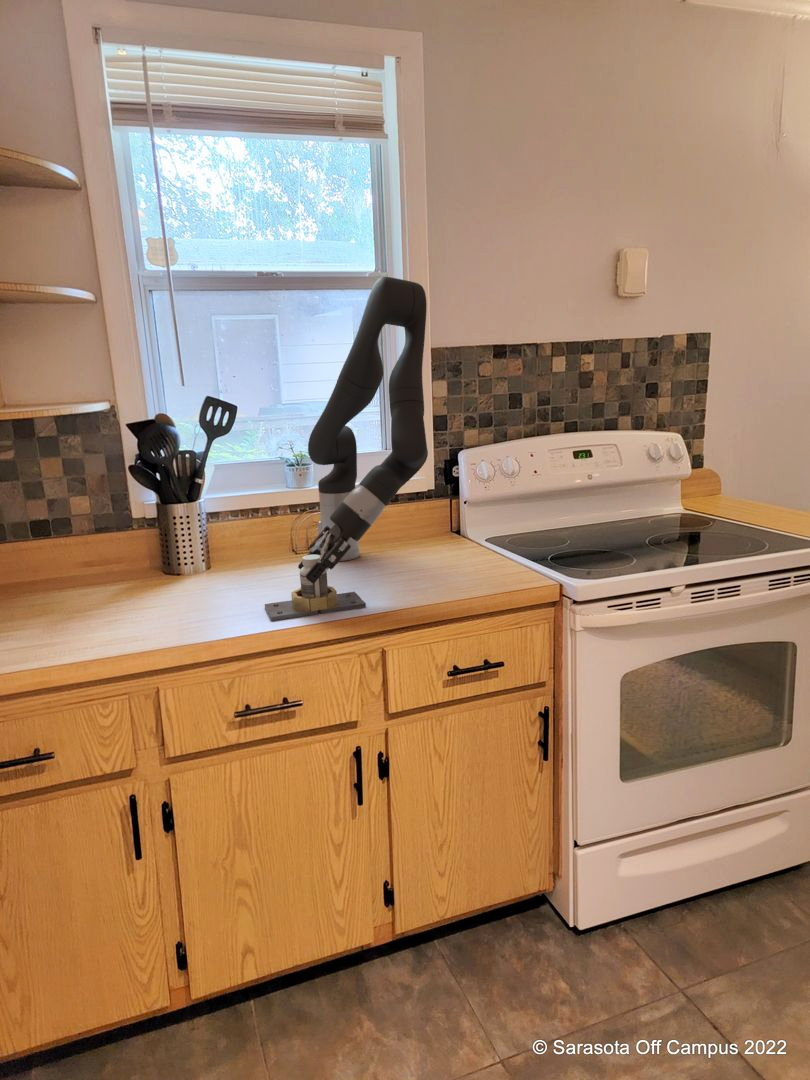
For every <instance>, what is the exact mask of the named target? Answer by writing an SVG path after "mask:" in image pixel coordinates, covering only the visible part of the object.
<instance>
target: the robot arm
mask: <svg viewBox="0 0 810 1080" xmlns="http://www.w3.org/2000/svg"><path fill="white" fill-rule="evenodd" d="M426 296H427V295H426V291H425V289H424V287H423V286H422V285H421V284H420V283H419V282H418V283H417V282H416V281H410V280H408V279H407V280H405V279H401V278H398V277H397V278H396V277H391V276H381V277H379V278H378V279H377V280H376V281H375V283H374V284H373V286H372V288H371V290H370V293H369V296H368V298H367V301H366V305H365V308H364V311H363V314H362V316H361V321H360V324H359V327H358V329H357V332H356V336H355V338H354V340H353V343H352V345H351V348H350V350H349V353H348V355H347V357H346V359H345V361H344V363H343V366H342V368H341V370H340V371H339V372H340V373H339V375H338V377H337V380H336V383H335V386H334V388H333V390H332V392H331V395H330V397H329V399H328V402H327V403H326V405H325V406H324V407H325V408H324V409H323V412H322V413H321V415H320V416H319V418H318V420H317V422H316V423H315V425H314V427H313V429H312V430H311V433H310V435H309V437H308V442H307V443H308V444H307V451H308V456H309V458H310V460H311V462H313V463H315V465H321V466H328V465H329V466H330V465H333V467H332V469H331V471H330V472H329V473H328V474H326V475H325V476H324V477H322V478H321V479H319V480H318V484H317V487H318V498H319V500H318V501H319V511H320V513H319V514H320V520H318V521H317V531H318V532H317V533H318V534H317V537H316V538H315V539H314V540H313V541H312V542H311V543H310V544H309V546H308V548H309V550H308V553H307V555H314V554H316V555H321V556H320V558H319V559H318V563H317V562H316V563H315V565H314V566H313V567H312V568H311V569H310V571H309V572H308V573H307V574H306V576H305V577H306V579H308V580H309V581H310V582H311V583H315V582H316V581H317V579H318V578H319V577H320V576H321V575H322V573H323V572H324V571H325V570H329V569H330V570H333V569H334V568H335V567H336V565H337V564H338V563H339V562H343V561H344V562H345V561H351V560H354V559H357V558H358V557H360V545H359V541H360V539H362V537H364V535H365V534H366V532H367V531H368V530H369V529H370V528H371V527H372V525H373V524H374V523H375V522H376V520H378V518H379V517H380V515H382V512H383V511H384V509H385V508H386V506H387V505H388V504H389V503H390V502H391V501H392V500H393V498H394V497H395V496H396V495H397V494H398V491H400V489H402V488H403V486H404V485H406V483H408V482H409V481H410V480H411V479H412V478H413V477H414V476H415V475H416V474H417V473H418V472H419V471H420V470H421V469H422V467H423V466H424V465H425V463H426V461H427V459H428V455H429V451H428V444H427V436H426V428H425V427H426V426H425V420H424V416H425V400H424V397H425V396H424V386H423V384H424V383H423V364H424V363H423V362H424V350H425V337H426V327H427V326H426V323H427V310H428V309H427V297H426ZM385 325H388V326H389V325H390V326H396V327H402V328H404V334H405V336H404V337H405V339H404V340H405V342H404V346H403V349H402V352H401V354H400V355H399V357H398V359H397V361H396V362H395V365H394V367H393V368H392V371H391V373H390V375H389V380H388V398H389V399H388V400H389V410H390V411H389V412H390V417H391V418H390V419H391V423H390V425H391V426H390V427H391V428H390V439H391V440H390V441H391V445H390V446H391V452H390V453H389V455H388V456H387V457H386V458H385V459H384V460H383V461H382V462H381V463H380V464H378V465H375V466H373V467H372V468H371V470H369V472H368V473H367V474H366V475H365V476H364V477H363V478H362V480H361V481H360V482H359V484H358V485H356V482H357V478H358V461H357V460H358V458H357V457H358V446H357V440H356V435H355V433H354V431H353V429H352V428H350V426H347V424H348V423H349V422H351V420H352V419H354V418H356V416H358V415H359V414H360V413H361V412H363V411H364V409H366V408H367V406H369V405H370V404H371V402H372V401H373V400H374V398H375V396H376V394H377V392H378V390H379V387H380V386H381V384H382V381H383V379H384V366H383V365H384V364H383V361H382V356H381V353H380V349H379V337H380V334H381V332H382V329H383V327H384V326H385ZM302 567H304V565H303V563H302V561H300V562H299V564H298V566H297V568H298V570H300V569H301V568H302Z"/></svg>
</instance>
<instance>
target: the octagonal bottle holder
mask: <svg viewBox="0 0 810 1080" xmlns="http://www.w3.org/2000/svg"><path fill="white" fill-rule="evenodd" d="M362 608H367V604H366V602H365V601H364V600H363V599H362V598H361V597H360V596H359V594H358V593H357V592H356V591H348V592H342V593H337V590H336V589H335V587H333V586H329V585H328V594H327V595H325V596H320V597H312V598H308V597H302V594H301V587H300V588H297V589H295V590H293V591H291V600H285V601H284V600H283V601H277V602H271V603H264V609H265V611H266V612H267V615H268V617H269V619H270V622H274V620H275V621H281V620H280V619H282V620H288V618H289V619H294V618H295V617H296V618H302V616H303V617H308V616H315V615H319V613H320V614H323V615H324V614H328V613H329V614H330V613H335V612H342V611H343V612H344V611H350V610H356V609H357V610H358V609H362Z"/></svg>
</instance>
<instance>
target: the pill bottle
mask: <svg viewBox="0 0 810 1080" xmlns="http://www.w3.org/2000/svg"><path fill="white" fill-rule="evenodd" d="M320 556H321V555H316V554H314V555H308V554H306V555H304V556H302V558H301V559H302V560H301V562H302V563H303V565H304V567H302V568H301V569H299V580H300V581H299V582H300V588H301V594H302V597H308V598H312V597H320V596H325V595H327V594H328V586H329V585H328V574H327V569H326V570H325V571H324V572H323V573H322V575H321V576H320V577H319V578H318V579H317V581H316V582H315V583H311V582H310V581H309V580H308V579H306V577H305V576H306V574H307V573H308V572H309V571H310V569H311V568H312V567H313V566H314V565H315V563H316V562H317V563H318V559H319V558H320Z"/></svg>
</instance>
